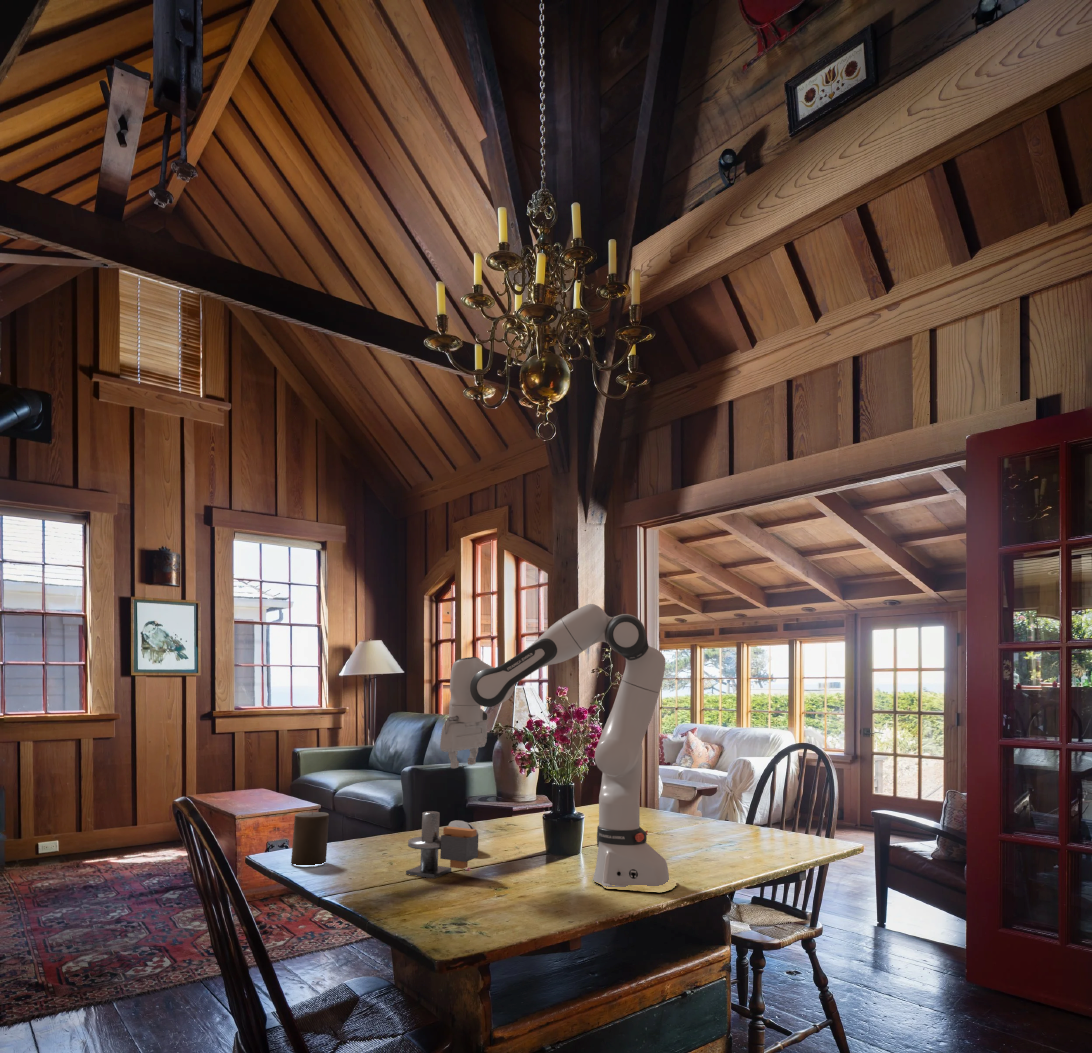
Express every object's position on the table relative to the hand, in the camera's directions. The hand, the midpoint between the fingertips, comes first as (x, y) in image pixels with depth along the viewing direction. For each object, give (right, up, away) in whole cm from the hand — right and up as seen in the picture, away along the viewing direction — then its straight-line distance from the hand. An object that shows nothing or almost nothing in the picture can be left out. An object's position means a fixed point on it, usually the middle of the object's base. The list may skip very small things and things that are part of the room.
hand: (463, 766), depth 233 cm
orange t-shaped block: (-1, -26, -5) cm, 27 cm away
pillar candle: (-45, -30, +7) cm, 55 cm away
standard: (-6, -29, -3) cm, 30 cm away
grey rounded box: (-4, -34, +26) cm, 43 cm away
